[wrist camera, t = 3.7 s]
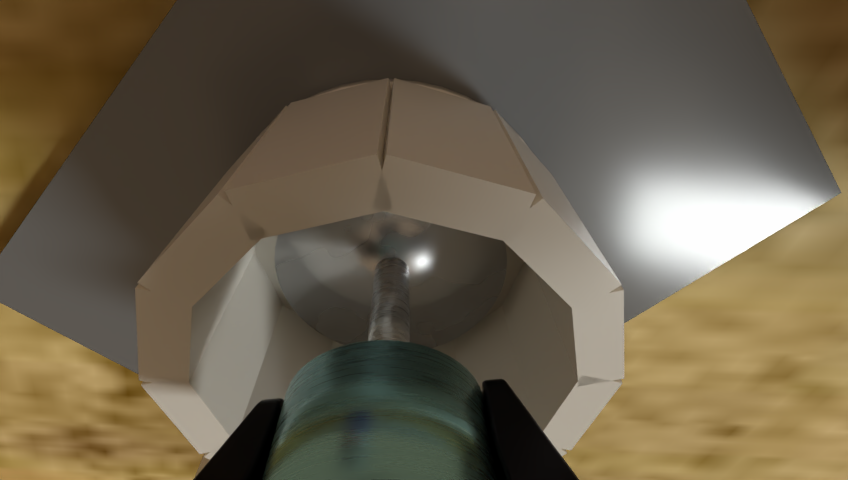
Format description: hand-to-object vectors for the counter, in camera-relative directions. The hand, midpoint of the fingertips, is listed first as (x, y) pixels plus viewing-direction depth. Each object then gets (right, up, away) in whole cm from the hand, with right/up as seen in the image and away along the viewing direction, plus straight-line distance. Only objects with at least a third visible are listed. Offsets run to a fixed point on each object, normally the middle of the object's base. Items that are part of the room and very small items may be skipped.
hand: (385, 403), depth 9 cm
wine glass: (0, +2, +4) cm, 5 cm away
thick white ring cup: (0, +3, +5) cm, 6 cm away
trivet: (0, +3, +5) cm, 6 cm away
